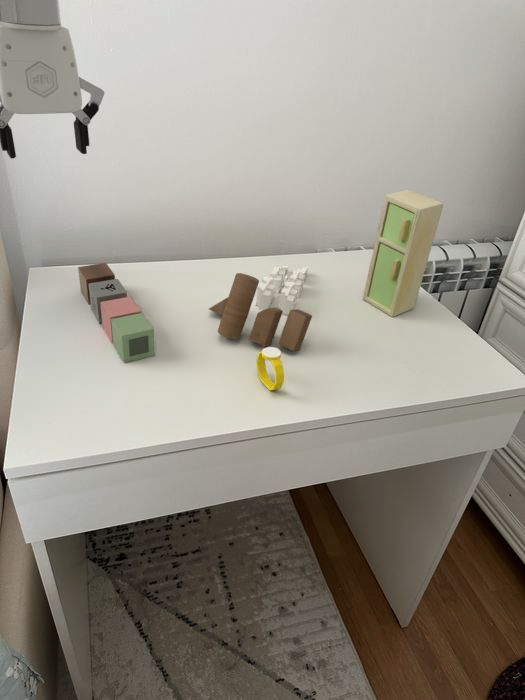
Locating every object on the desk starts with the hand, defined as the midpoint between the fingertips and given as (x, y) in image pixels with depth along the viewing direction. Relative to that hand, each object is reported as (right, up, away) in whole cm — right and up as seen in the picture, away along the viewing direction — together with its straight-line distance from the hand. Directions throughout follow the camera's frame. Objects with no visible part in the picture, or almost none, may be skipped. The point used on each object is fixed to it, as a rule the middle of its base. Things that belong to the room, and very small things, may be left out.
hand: (47, 153), depth 76 cm
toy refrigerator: (+55, -20, +27) cm, 64 cm away
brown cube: (+1, -18, +20) cm, 27 cm away
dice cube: (+4, -22, +16) cm, 27 cm away
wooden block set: (+29, -26, +14) cm, 41 cm away
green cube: (+11, -28, +8) cm, 31 cm away
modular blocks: (+35, -17, +28) cm, 48 cm away
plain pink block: (+8, -25, +11) cm, 29 cm away
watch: (+32, -34, +4) cm, 46 cm away
